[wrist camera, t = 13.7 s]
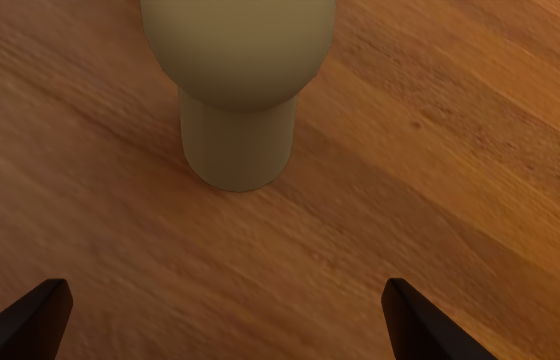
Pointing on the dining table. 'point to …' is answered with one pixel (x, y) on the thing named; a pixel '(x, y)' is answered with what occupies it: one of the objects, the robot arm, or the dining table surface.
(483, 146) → the dining table surface
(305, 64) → the tan peg doll
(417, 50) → the dining table surface
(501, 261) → the dining table surface
